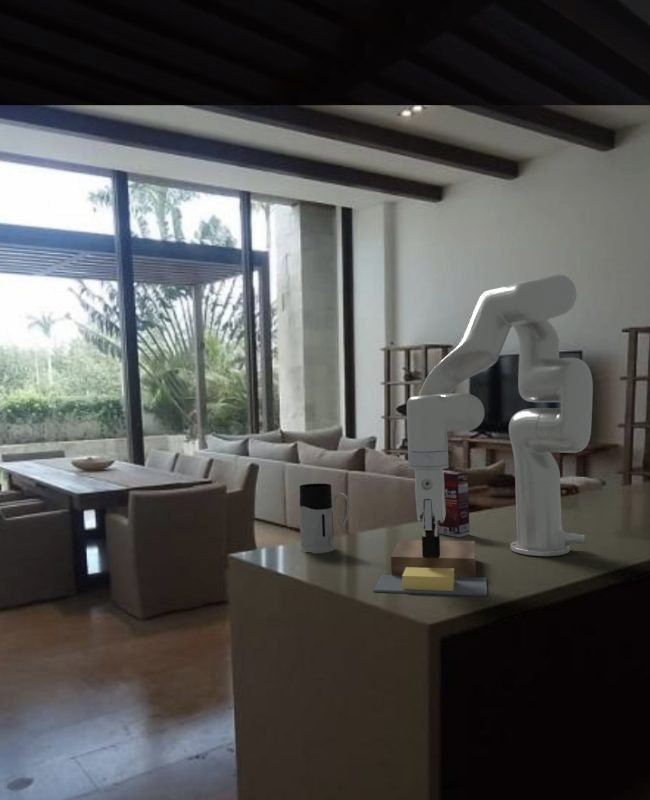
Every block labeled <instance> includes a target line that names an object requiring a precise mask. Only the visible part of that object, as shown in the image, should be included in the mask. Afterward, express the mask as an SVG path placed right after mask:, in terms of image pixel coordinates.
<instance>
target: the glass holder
mask: <svg viewBox="0 0 650 800" xmlns="http://www.w3.org/2000/svg"><path fill="white" fill-rule="evenodd" d="M339 495H341V496H343V497H344V498H345V501H346V514H345V517H344V520H343V522H342V524H341V526H340V527H339V528H338V529H337V530H336V531H335V532H334V510H336V500H337V497H338V496H339ZM332 497H333V498H332ZM349 500H350V499H349V497H348V495H347V494H345V493H344V492H338V493H336V494H335V495H334V496H332V484H330V483H318V482H317V483H308V484H307V483H305V484H300V485H299V502H298V503H299V528H300V546H299V548H298V550H299V549H300V550H301V551H305V552H313V553H312V554H324V553H330V551H331V552H333V550H334V551H335V550H336V549H337V547H336V544H335V541H334V540H335V539H334V537H335V536H337V535H338V533H339V532H341V530H342V529H343V528H344V527H345V525H346V523H347V522H348V519H349V514H350V505H351V504H350V501H349ZM301 551H300V552H301ZM305 552H304V553H305Z"/></svg>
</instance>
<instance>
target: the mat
mask: <svg viewBox="0 0 650 800" xmlns="http://www.w3.org/2000/svg"><path fill="white" fill-rule="evenodd" d="M454 578H455V582H454V589H453V591H442V590H415V589H403V584H402V575H392V574H381V575H380V577H379V579H378V580H377V582H376V584H375V587H374V588H373V593H387V594H388V593H390V594H392V593H393V594H415V595H416V594H417V595H419V594H420V595H443V596H444V595H446V596H448V595H449V596H455V595H456V596H476V597H478V596H479V597H480V596H481V597H488V585H487V577H475V578H474V577H454Z"/></svg>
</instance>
